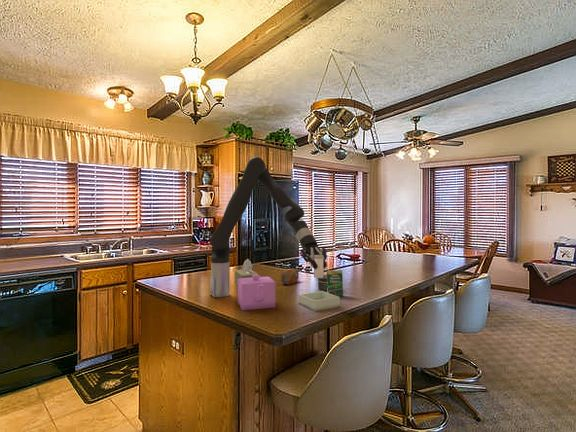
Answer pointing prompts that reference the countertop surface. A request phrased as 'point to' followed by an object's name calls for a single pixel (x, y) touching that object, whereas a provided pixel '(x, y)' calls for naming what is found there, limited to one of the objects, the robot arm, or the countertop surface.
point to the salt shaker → (319, 261)
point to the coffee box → (335, 283)
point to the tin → (289, 276)
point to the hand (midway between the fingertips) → (320, 267)
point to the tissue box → (244, 271)
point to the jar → (322, 283)
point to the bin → (318, 300)
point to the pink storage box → (256, 292)
